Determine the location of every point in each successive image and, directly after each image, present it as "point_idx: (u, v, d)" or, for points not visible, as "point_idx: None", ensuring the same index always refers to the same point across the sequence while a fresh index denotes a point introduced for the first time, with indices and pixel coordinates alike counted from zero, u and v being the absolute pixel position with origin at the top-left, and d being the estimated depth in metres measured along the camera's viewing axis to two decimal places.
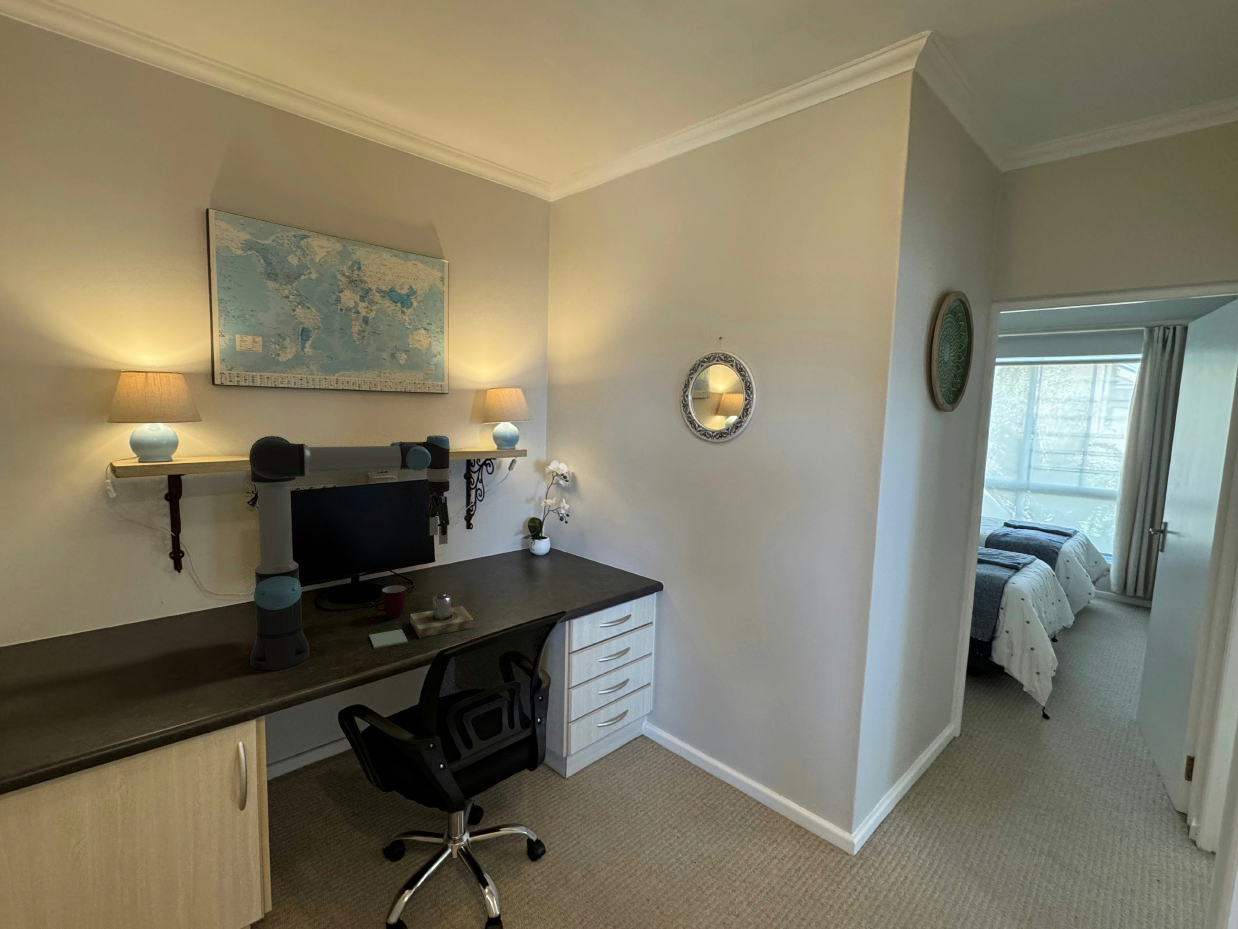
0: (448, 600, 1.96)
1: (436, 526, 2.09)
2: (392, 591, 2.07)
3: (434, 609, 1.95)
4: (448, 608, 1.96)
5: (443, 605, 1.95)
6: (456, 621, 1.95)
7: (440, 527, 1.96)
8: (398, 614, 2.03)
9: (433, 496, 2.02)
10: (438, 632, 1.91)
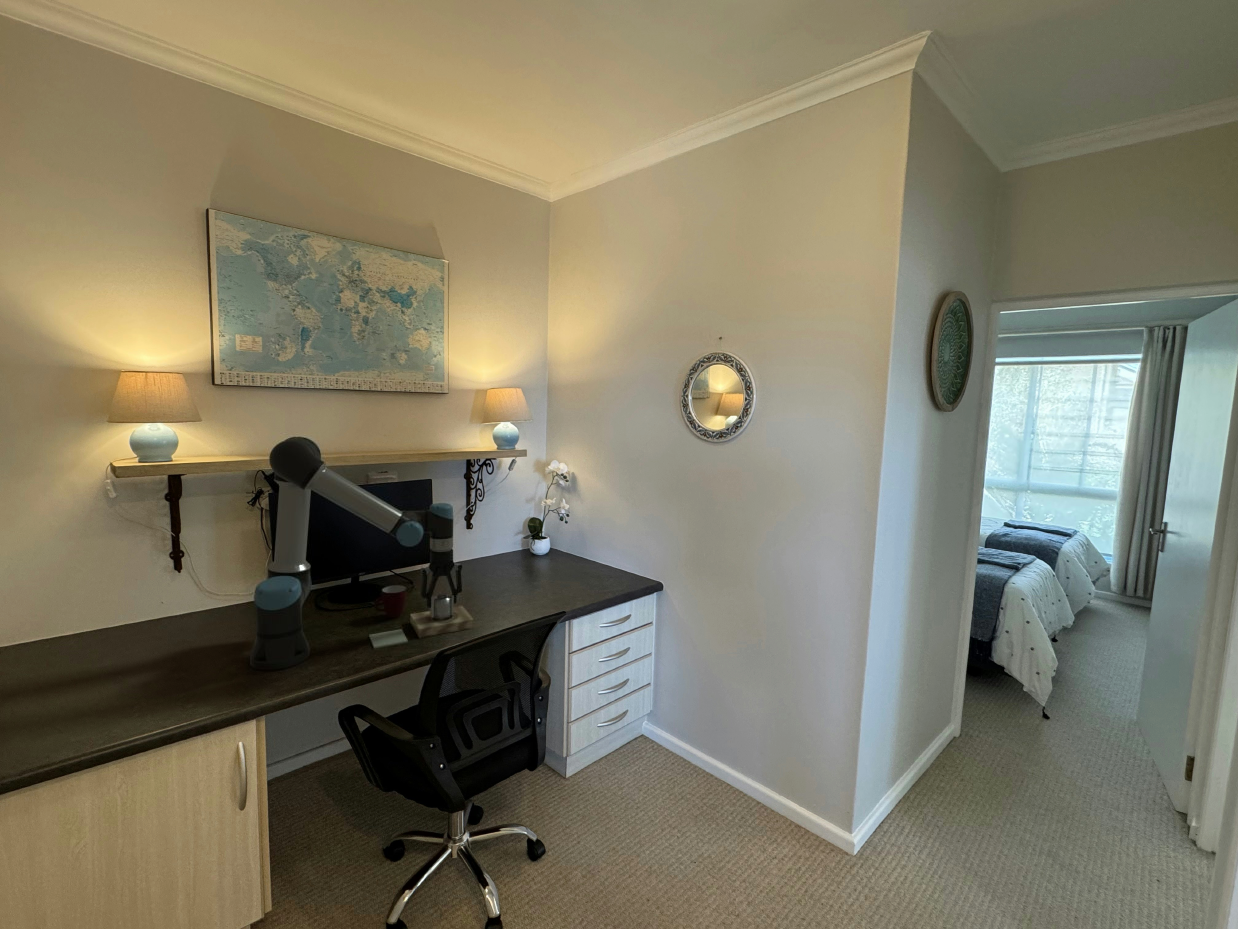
0: (448, 600, 1.96)
1: (451, 605, 1.98)
2: (392, 591, 2.07)
3: (434, 609, 1.95)
4: (448, 608, 1.96)
5: (443, 605, 1.95)
6: (456, 621, 1.95)
7: None
8: (398, 614, 2.03)
9: None
10: (438, 632, 1.91)
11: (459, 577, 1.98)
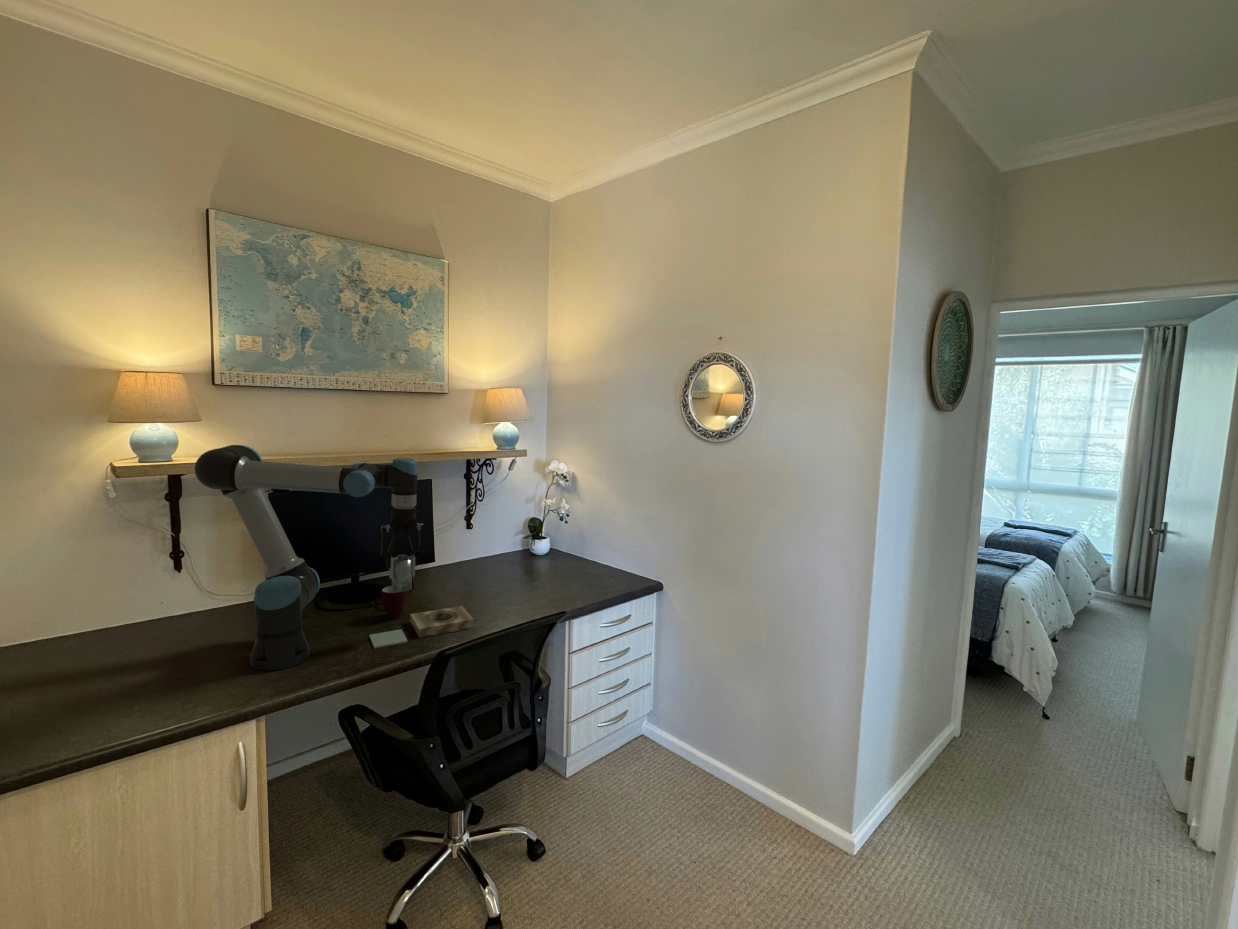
0: (409, 562, 1.85)
1: (412, 567, 1.88)
2: (392, 591, 2.07)
3: (394, 571, 1.84)
4: (409, 570, 1.86)
5: (404, 566, 1.84)
6: (456, 621, 1.95)
7: None
8: (398, 614, 2.03)
9: None
10: (438, 632, 1.91)
11: (422, 538, 1.88)
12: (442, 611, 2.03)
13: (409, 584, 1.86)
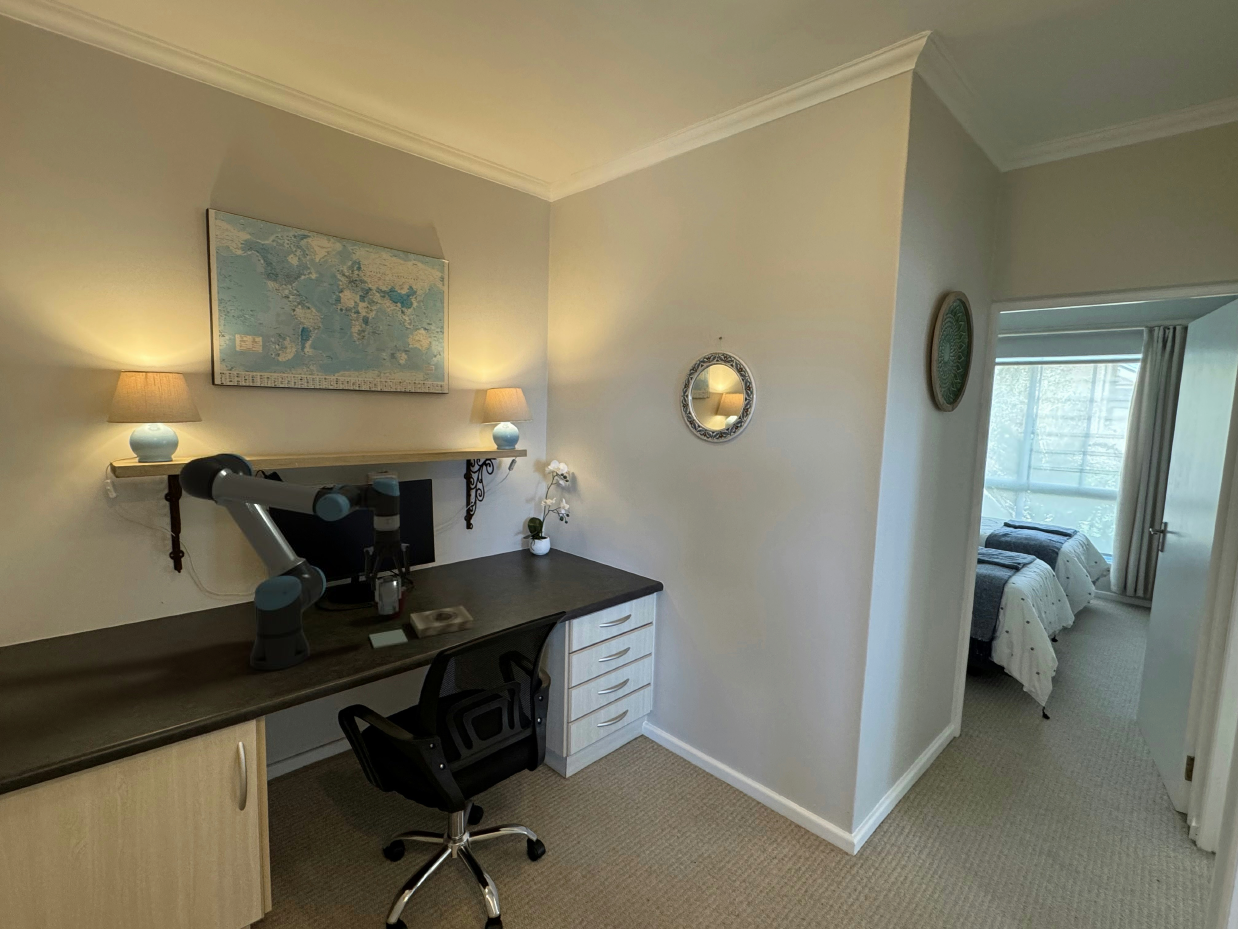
0: (394, 583, 1.82)
1: (398, 588, 1.84)
2: None
3: (379, 593, 1.81)
4: (395, 592, 1.82)
5: (389, 589, 1.81)
6: (456, 621, 1.95)
7: None
8: (398, 614, 2.03)
9: None
10: (438, 632, 1.91)
11: (407, 558, 1.84)
12: (442, 611, 2.03)
13: (395, 606, 1.83)
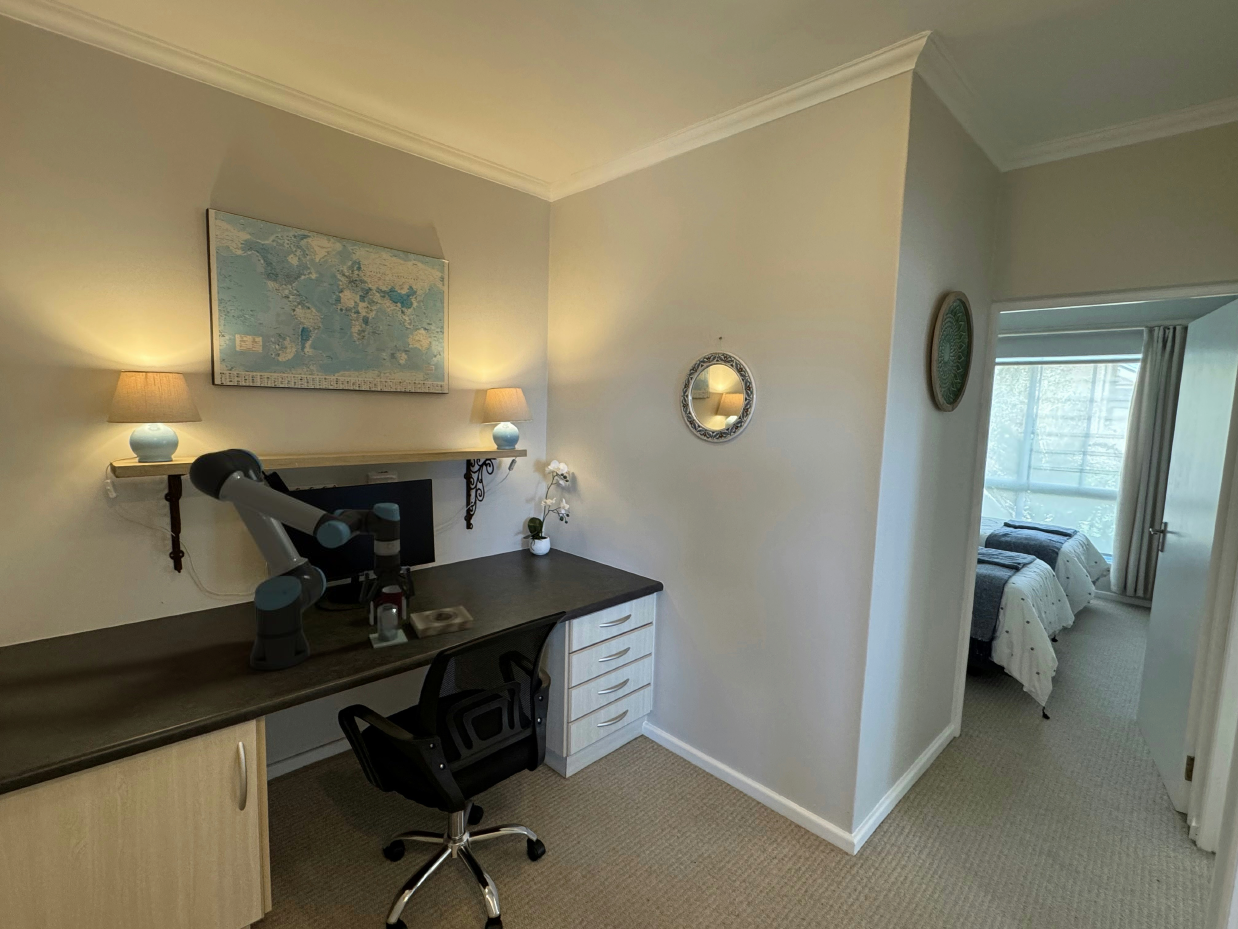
0: (394, 611, 1.83)
1: (403, 609, 1.86)
2: (392, 591, 2.07)
3: (379, 621, 1.82)
4: (394, 620, 1.84)
5: (389, 616, 1.82)
6: (456, 621, 1.95)
7: None
8: (398, 614, 2.03)
9: None
10: (438, 632, 1.91)
11: (409, 580, 1.86)
12: (442, 611, 2.03)
13: (395, 633, 1.84)
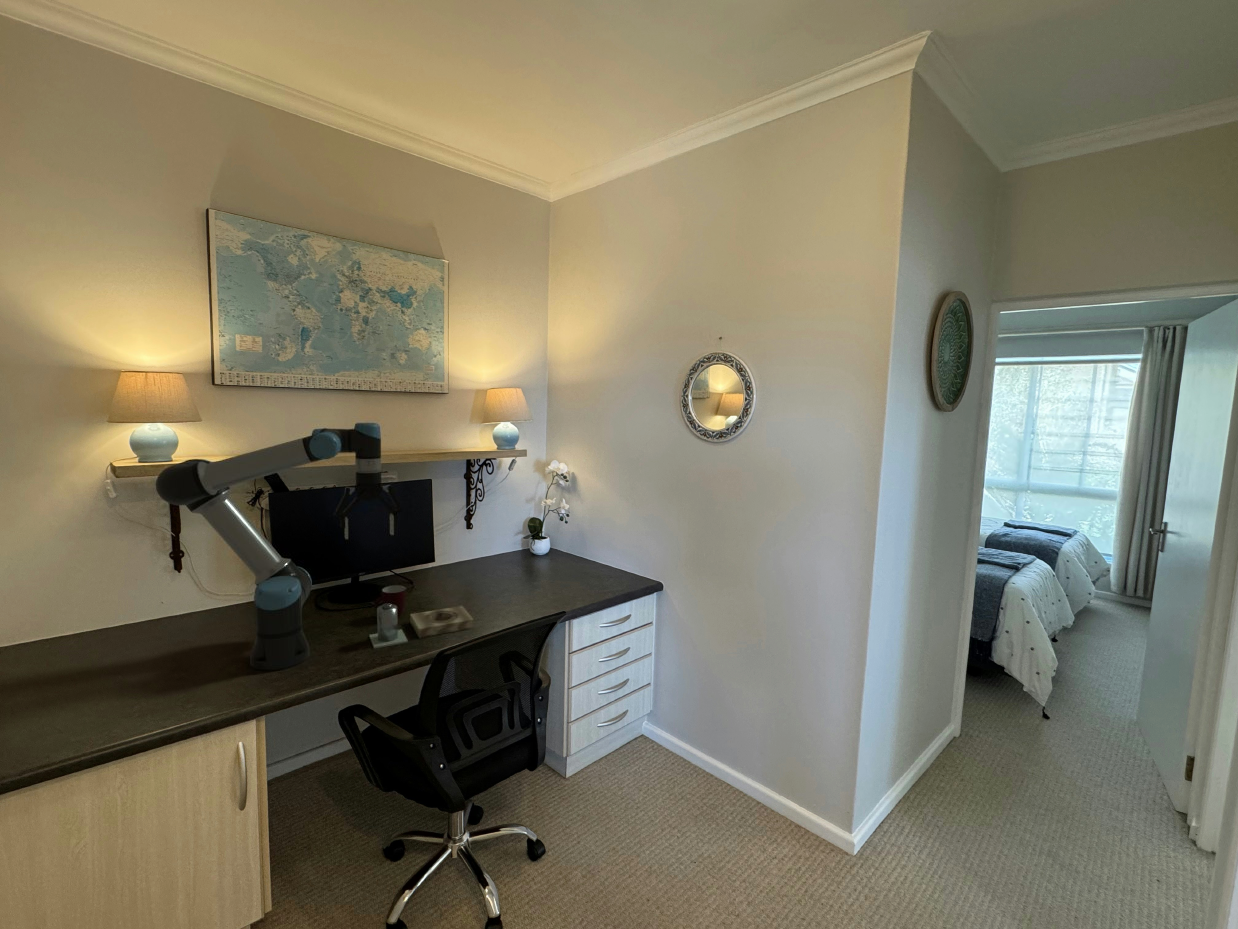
0: (393, 611, 1.83)
1: (391, 525, 1.89)
2: (392, 591, 2.07)
3: (378, 621, 1.82)
4: (394, 619, 1.83)
5: (388, 616, 1.82)
6: (456, 621, 1.95)
7: None
8: (398, 614, 2.03)
9: None
10: (438, 632, 1.91)
11: (393, 498, 1.88)
12: (442, 611, 2.03)
13: (395, 633, 1.84)
